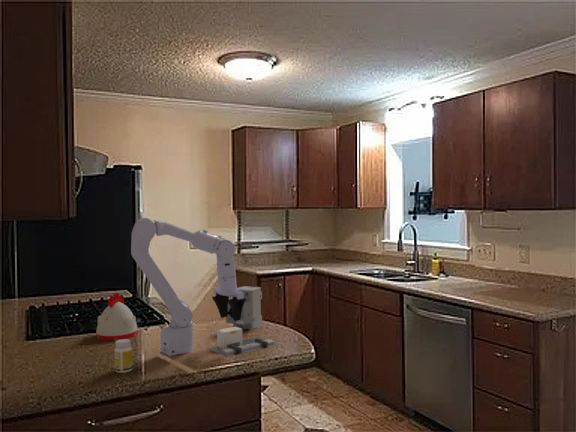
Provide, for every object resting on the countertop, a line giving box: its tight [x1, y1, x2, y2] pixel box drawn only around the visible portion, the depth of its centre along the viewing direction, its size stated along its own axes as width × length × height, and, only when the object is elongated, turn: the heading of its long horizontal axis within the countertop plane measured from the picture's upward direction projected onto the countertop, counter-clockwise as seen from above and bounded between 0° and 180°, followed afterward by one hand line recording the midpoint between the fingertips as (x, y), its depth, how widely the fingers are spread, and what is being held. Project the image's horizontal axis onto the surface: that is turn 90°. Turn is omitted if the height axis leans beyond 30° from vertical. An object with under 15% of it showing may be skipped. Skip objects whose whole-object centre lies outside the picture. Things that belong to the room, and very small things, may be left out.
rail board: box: [206, 336, 281, 358], centre depth 166 cm, size 20×12×2 cm, turn 129°
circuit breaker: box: [225, 285, 263, 331], centre depth 189 cm, size 8×14×15 cm, turn 152°
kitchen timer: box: [95, 292, 139, 341], centre depth 185 cm, size 14×14×15 cm
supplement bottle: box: [113, 338, 134, 374], centre depth 147 cm, size 5×5×8 cm
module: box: [216, 326, 244, 349], centre depth 167 cm, size 4×7×5 cm, turn 129°
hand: (230, 318), depth 167 cm, fingers open, 7 cm apart
